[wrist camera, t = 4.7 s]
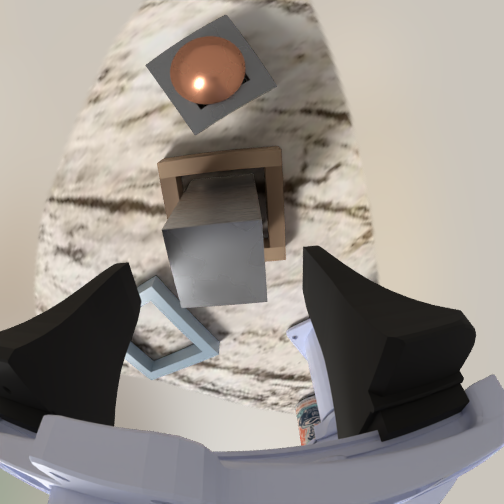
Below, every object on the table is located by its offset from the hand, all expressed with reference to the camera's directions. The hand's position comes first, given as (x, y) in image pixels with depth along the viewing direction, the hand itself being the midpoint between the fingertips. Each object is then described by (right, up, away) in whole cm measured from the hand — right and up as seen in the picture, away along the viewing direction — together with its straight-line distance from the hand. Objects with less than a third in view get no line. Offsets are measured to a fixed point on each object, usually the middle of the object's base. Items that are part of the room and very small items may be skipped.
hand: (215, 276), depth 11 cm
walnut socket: (0, +4, +8) cm, 9 cm away
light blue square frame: (-7, -6, +13) cm, 16 cm away
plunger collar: (-1, +12, +3) cm, 12 cm away
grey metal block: (0, +4, +8) cm, 9 cm away
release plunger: (-1, +11, +3) cm, 12 cm away
